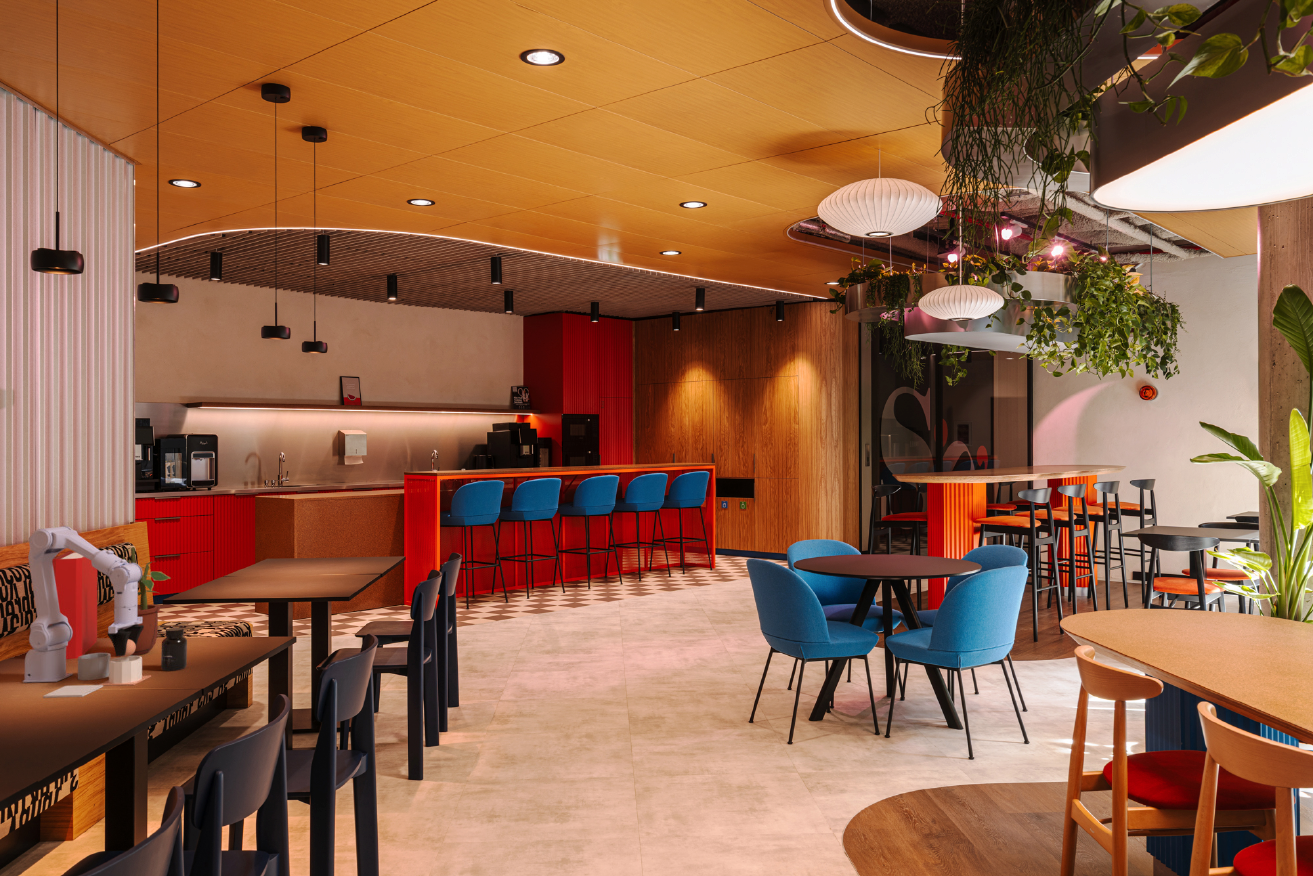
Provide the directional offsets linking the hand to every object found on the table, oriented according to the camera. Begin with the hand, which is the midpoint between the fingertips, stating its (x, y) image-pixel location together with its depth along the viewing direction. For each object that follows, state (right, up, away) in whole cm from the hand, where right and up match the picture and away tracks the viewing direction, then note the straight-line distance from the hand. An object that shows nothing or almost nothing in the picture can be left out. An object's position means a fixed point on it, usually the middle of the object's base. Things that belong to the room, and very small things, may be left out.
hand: (125, 653), depth 253 cm
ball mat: (-7, -8, -12) cm, 16 cm away
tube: (0, -8, 0) cm, 8 cm away
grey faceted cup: (-12, -8, +5) cm, 16 cm away
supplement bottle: (+6, -8, +14) cm, 18 cm away
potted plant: (-19, -9, +37) cm, 42 cm away
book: (-41, -9, +39) cm, 57 cm away
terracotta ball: (0, +2, 0) cm, 2 cm away
